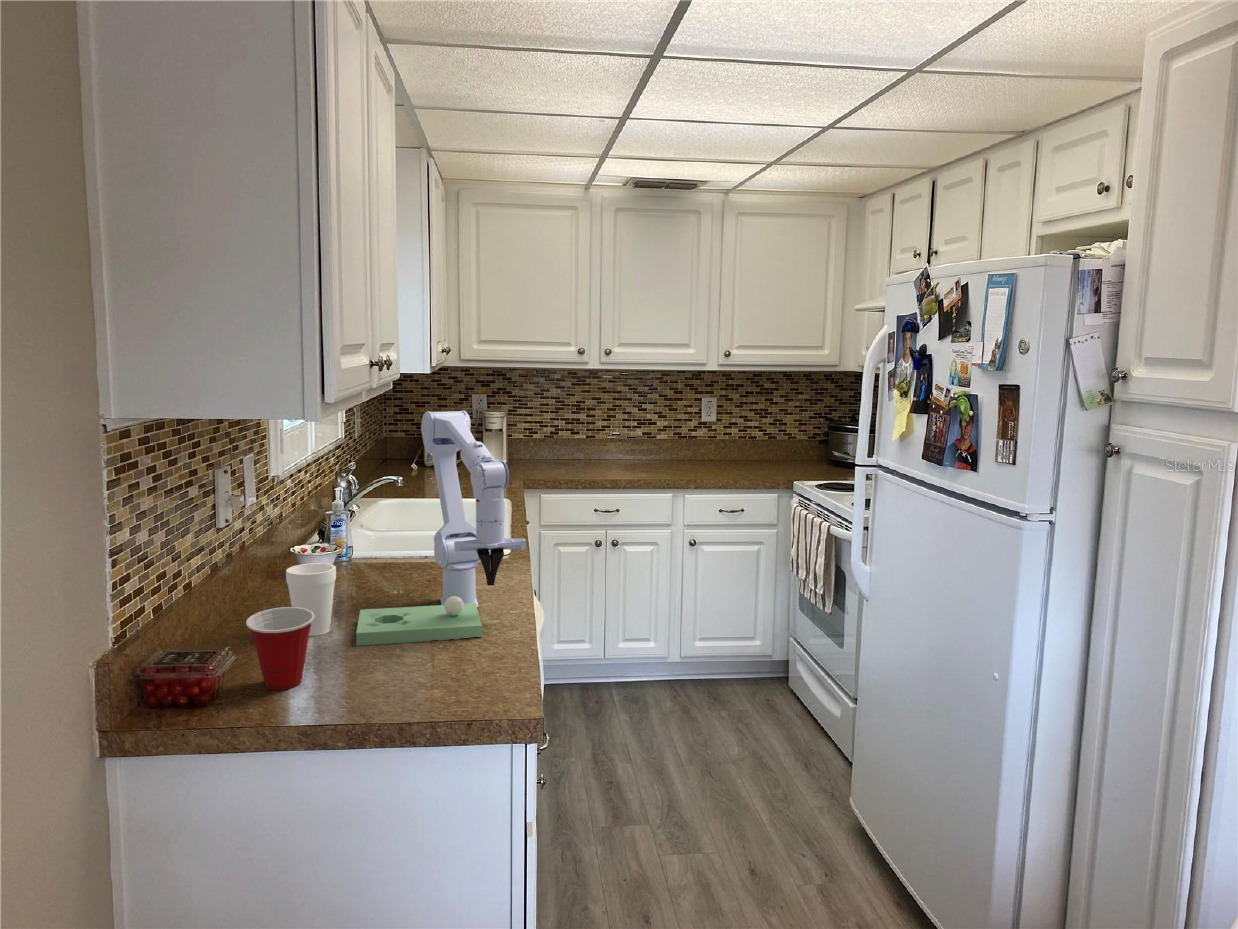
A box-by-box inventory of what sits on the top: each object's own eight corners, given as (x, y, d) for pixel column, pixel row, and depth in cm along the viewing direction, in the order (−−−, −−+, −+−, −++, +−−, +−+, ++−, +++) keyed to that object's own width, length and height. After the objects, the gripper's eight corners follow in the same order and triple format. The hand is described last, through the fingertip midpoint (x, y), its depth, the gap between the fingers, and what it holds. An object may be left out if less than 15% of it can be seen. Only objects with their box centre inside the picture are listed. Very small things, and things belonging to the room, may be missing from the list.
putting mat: (360, 621, 183) (360, 609, 183) (475, 614, 189) (475, 603, 188) (356, 645, 168) (356, 633, 167) (481, 637, 173) (481, 625, 173)
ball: (443, 613, 181) (443, 594, 181) (463, 612, 182) (463, 593, 182) (444, 618, 177) (444, 599, 177) (464, 617, 178) (464, 598, 178)
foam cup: (321, 621, 183) (319, 560, 181) (346, 630, 177) (345, 568, 175) (279, 632, 175) (276, 569, 174) (304, 642, 170) (302, 577, 168)
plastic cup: (244, 699, 141) (241, 628, 140) (253, 676, 152) (250, 609, 150) (314, 693, 144) (312, 623, 143) (319, 670, 154) (316, 605, 153)
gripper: (455, 524, 173) (456, 591, 175) (527, 522, 177) (527, 587, 178) (453, 518, 180) (454, 582, 182) (523, 516, 184) (523, 578, 185)
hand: (490, 584), depth 181 cm, fingers closed
